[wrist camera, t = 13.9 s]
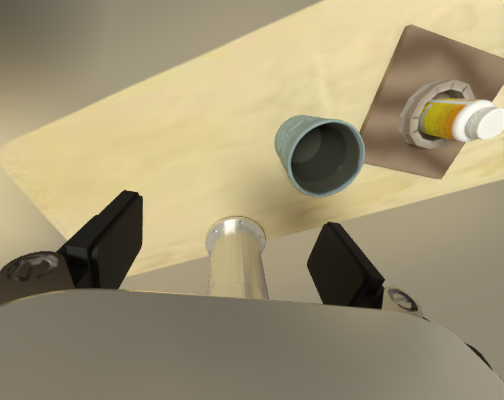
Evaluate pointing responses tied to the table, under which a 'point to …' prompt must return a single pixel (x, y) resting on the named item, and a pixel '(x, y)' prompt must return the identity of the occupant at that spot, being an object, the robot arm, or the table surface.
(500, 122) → the supplement bottle
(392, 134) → the collar board
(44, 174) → the table surface
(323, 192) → the blue-grey plant pot
